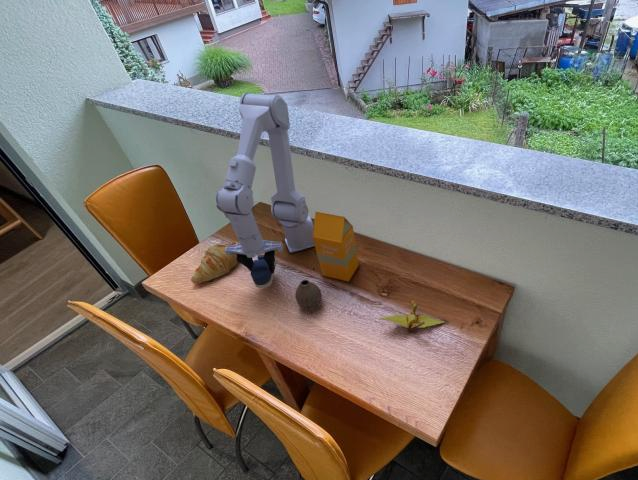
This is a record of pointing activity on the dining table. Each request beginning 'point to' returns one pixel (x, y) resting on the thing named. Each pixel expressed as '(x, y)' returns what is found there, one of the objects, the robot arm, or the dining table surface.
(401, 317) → the origami crane
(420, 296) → the dining table surface
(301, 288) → the vase
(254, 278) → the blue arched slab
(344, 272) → the orange juice
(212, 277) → the croissant
